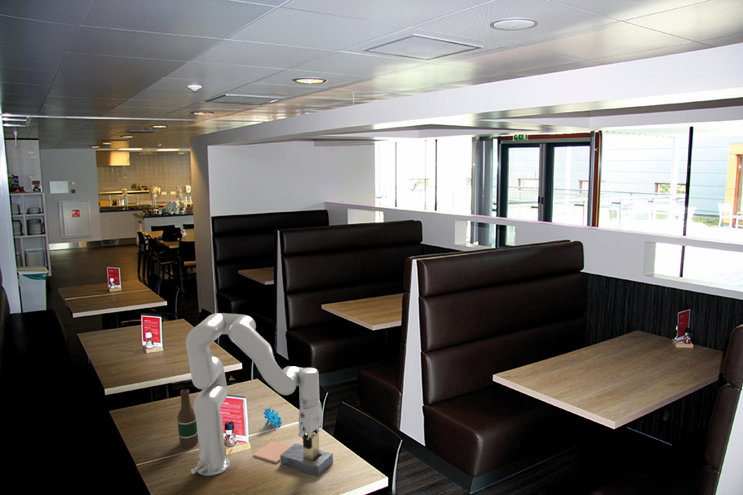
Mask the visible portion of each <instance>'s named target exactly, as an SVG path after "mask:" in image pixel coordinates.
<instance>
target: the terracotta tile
mask: <svg viewBox="0 0 743 495" xmlns="http://www.w3.org/2000/svg"><path fill="white" fill-rule="evenodd" d="M292 446H293V445H288V444H284V443H281V442H278V441H273V440H272V441H270V442H269V443H267V444H265V445H264V446H263V447H262V448H260V449H259V450H257V451H256V452H254V453H253V456H252V457H254V458H257V459H261V460H264V461H267V462H270V463H274V464H278V463H280V462H281V460H280V455H281V454H282V453H284V452H285V451H286V450H288V449H289V448H290V447H292Z"/></svg>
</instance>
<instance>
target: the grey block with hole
mask: <svg viewBox="0 0 743 495" xmlns="http://www.w3.org/2000/svg"><path fill="white" fill-rule="evenodd" d="M291 446H292V447H290V448H289V449H288V450H286V451H285V452H284V453H282V454H281V455H280V460H281V461H280V465H281V466H283V467H286V468H290V469H293V470H297V471H300V472H304V473H307V474H310V475H314V476H316V475H317V477H319V476H321V475H322V474H323V473H325V471H326V470H327V469H328V468H329V467H331V466H332V464H333V463H334V456H333V454H334V453H333V452H328V451H324V450H321V449H319V458H318V459H317V460H316V461H311V460H308V459H304V456H303V444H299V443H294V444H293V445H291Z"/></svg>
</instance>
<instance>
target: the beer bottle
mask: <svg viewBox="0 0 743 495" xmlns="http://www.w3.org/2000/svg"><path fill="white" fill-rule="evenodd" d="M189 393H190V390H189V389H187V388H185V389H181V390H180V392H179V394H180V410H179V411H178V414H177V428H178V429H177V430H178V441H179V445H180V446H181V447H182V448H185V447H189V448H191V447H195V446H196V445H197V444H199V442H198V432H197V422H196V417H195V414H194V408H193V407H192V405H191V404H192V403H191V398H190V394H189Z"/></svg>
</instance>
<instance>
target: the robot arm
mask: <svg viewBox="0 0 743 495" xmlns="http://www.w3.org/2000/svg"><path fill="white" fill-rule="evenodd" d="M256 328H257V325H256V322H255V320H254V318H252V317H251V316H249V315H246V314H241V313H239V314H238V313H225V312H223V313H222V312H221V313H218V312H217V313H216V312H215V313H212V314H210V315H208V316H207V317H206V318H205V319H204V320H202V321H201V322H200V323H199V324H197V325H196V326H195V327H193V328H192V329H191V330H190V331H189V332H188V334H187V336H186V338H185V347H186V352H187V358H188V364H189V370H190V376H191V381H192V384H193V386H194V387H196V388H197V389H199V390H201V391H200V392H199V393H198V395H197V396H196V398H195V399H194V401H193V407H192V409H193V410H194V414H195V417H196V422H197V432H198V453H199V460H198V461H197V464H196V465H195V466H194V467H193V468H191V469H190V473H191V474H194V475H195V474H196V473H198V474H199V475H201V476H205V477H208V476H210V477H211V476H216V475H219V474H222V473H223V472H225V471H226V470H228V469H229V468H230V465H231V462H230V459H229V458H228V457H226V450H225V448H226V447H225V436H224V424H223V418H222V414H221V407H222V405H223V404H224V403H225V400H226V399H227V397H228V396H227V395H228V386H227V380H226V373H225V369H224V364H223V362H222V361H221V359H219V358H218V357H216V356H215V355H212V354H213V353H212V350H211V347H210V344H211V343H212V342H214V341H216V340H217V339H218V338H219V337H220V336H221V335H227V336H228V338H229V339H230V341H231V342H232V343H234V344H235V345H236V346H237V347H238V348H239V349H240V350H241V351H242V352H243V353H244V354H245V355H246V356H248V357H249V358H250V359H251V361H252V362H253V363H254V365H255V366H256V368H257V370H258V372H259V373H260V375H261V377H262V378H263V380H264V381H265V382H266V383H267V384H268V385H269V386H270V387H271V388H272V389H274V391H276V392H277V393H278V394H280V395H282V396H289V395H291V394H293V393H294V392H295V390H296V388H297V386H298V388H299V391H298V392H299V412H298V429H299V432H298V435H297V436H298V437H300V438H301V439H302V445H303V447H304V448H307V449H311V439H310V433H312V432H316V433H319V432H320V427H321V426H322V425H323V422H324V419H323V416H324V415H323V408H322V403H321V401H320V381H319V380H320V379H319V376H320V375H319V370H318V369H317V368H315V367H298V366H290V365H288V366H286V367H284V368H281V367H280V366H279V365H278V363H277V361H276V359H275V356H274V352H273V348H272V346H271V344H270V343H269V342H268V341H267V340H266V339H264V337H263V336H261V335H260V334H259V333H258V332H257V330H256ZM306 433H307V435H305V434H306Z"/></svg>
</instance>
